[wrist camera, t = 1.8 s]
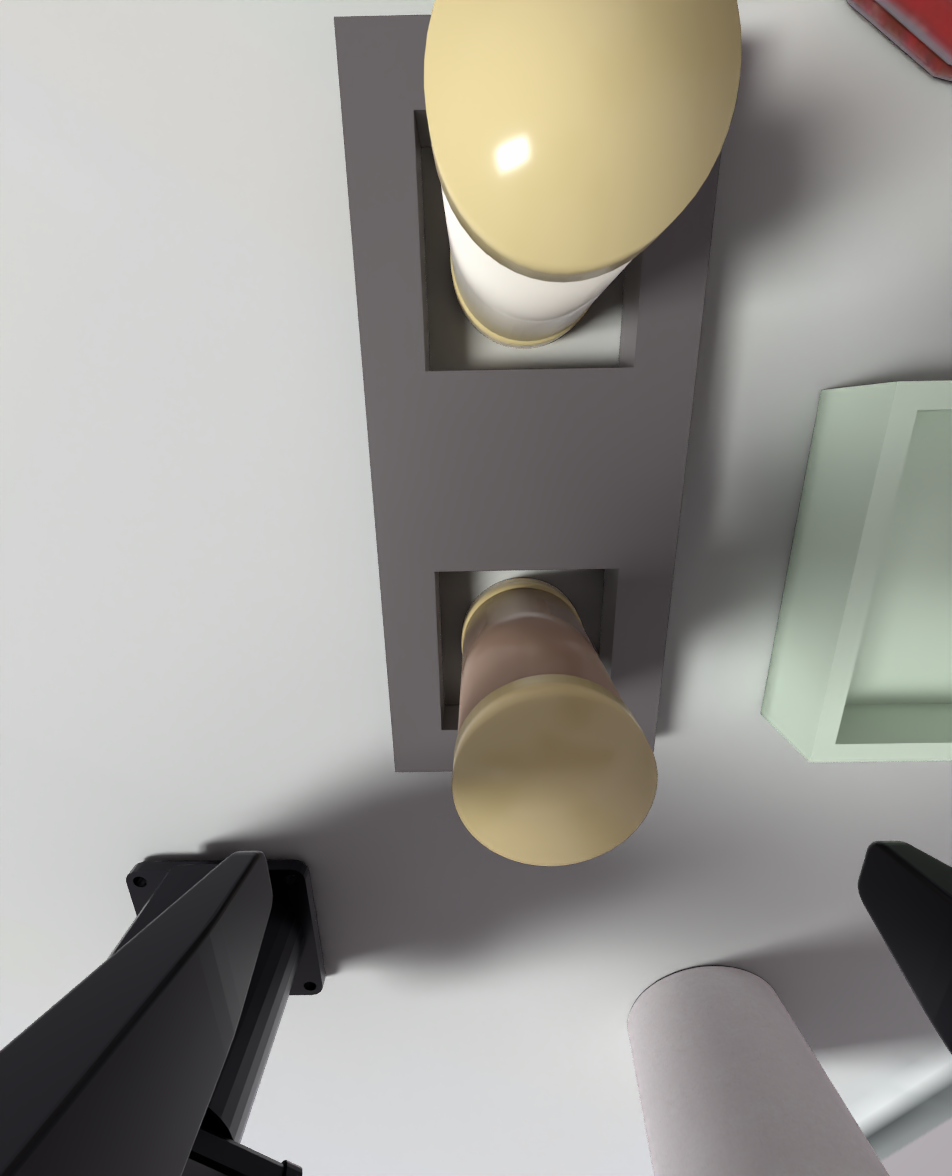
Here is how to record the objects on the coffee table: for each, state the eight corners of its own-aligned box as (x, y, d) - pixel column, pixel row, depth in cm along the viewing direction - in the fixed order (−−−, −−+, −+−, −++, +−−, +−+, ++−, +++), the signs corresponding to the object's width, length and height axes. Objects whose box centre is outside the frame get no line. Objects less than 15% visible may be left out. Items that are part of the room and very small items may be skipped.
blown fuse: (577, 685, 16) (647, 864, 9) (463, 687, 16) (455, 867, 9) (582, 576, 15) (667, 694, 8) (460, 578, 15) (448, 698, 8)
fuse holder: (637, 741, 17) (651, 768, 15) (401, 744, 17) (395, 772, 15) (705, 58, 11) (737, 8, 10) (351, 66, 11) (333, 17, 10)
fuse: (594, 347, 13) (718, 262, 6) (454, 350, 13) (431, 267, 6) (603, 176, 12) (766, -146, 5) (449, 180, 12) (415, -136, 5)
